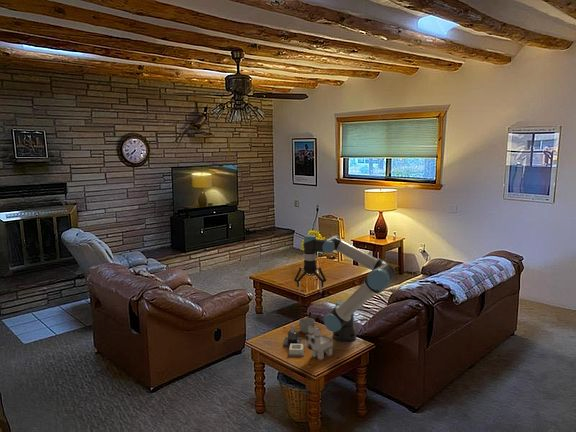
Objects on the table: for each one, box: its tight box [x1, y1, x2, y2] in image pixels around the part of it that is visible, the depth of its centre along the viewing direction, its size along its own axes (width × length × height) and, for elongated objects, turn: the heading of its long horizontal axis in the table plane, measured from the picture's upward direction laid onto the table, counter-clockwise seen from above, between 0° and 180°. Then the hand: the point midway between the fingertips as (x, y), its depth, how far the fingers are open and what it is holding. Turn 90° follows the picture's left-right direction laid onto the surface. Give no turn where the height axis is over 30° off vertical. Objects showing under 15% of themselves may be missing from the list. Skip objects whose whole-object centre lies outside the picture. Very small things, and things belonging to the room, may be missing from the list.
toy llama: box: [304, 325, 333, 362], centre depth 252 cm, size 8×18×20 cm, turn 131°
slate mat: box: [288, 347, 305, 357], centre depth 259 cm, size 9×10×1 cm
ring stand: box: [283, 324, 303, 348], centre depth 271 cm, size 11×11×12 cm
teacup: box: [298, 316, 316, 334], centre depth 289 cm, size 14×11×8 cm
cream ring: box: [288, 343, 304, 356], centre depth 259 cm, size 8×8×3 cm
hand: (310, 291), depth 272 cm, fingers open, 13 cm apart
